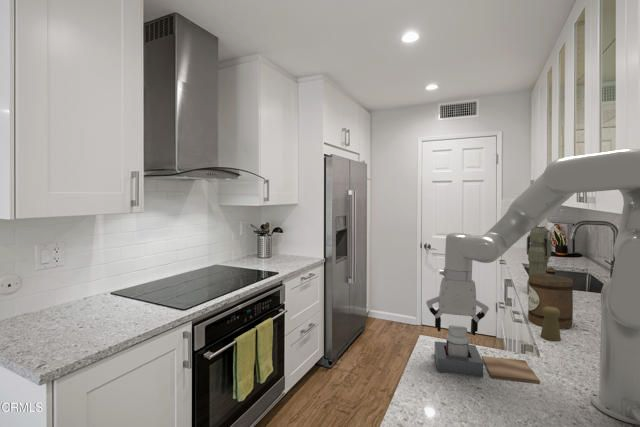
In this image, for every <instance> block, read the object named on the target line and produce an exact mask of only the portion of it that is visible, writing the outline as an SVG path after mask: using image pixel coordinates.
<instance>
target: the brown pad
mask: <svg viewBox="0 0 640 427" xmlns="http://www.w3.org/2000/svg"><path fill="white" fill-rule="evenodd" d="M481 359H482V361H483V365H484V366H485V369H486V370H487V372H488V374H489V377H490V378H491V379H495V378H496V379H497V380H504V379H505V381H506V380H507V381H512V380H513V382H521V381H522V382H523V383H530V382H532V383H531V384H539V383H540V384H541V380H540V379H539V377H538V376H537V375H536V373H535V372H534V371H533V369H532V367H531V366H530V365H529V364H528V363H527V361H526V360H524V359H516V358H514V359H513V358H506V357H505V358H504V357H497V356H495V357H493V356H486V355H481Z"/></svg>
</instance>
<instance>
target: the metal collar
mask: <svg viewBox="0 0 640 427" xmlns="http://www.w3.org/2000/svg"><path fill="white" fill-rule="evenodd" d="M446 346H447V341H446V342H445V341H434V358H435V365H436V369H437V373H443V374H454V375H461V376H462V375H463V376H469V377H470V376H471V377H477V378H478V377H479V378H484V362H483V360H482V356H481V355H480V352H479V351H478V348H477V346H476V345H475V344H469V350H468V358H467V357H457V356H447V355H446Z"/></svg>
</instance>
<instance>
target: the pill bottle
mask: <svg viewBox="0 0 640 427" xmlns="http://www.w3.org/2000/svg"><path fill="white" fill-rule="evenodd" d="M469 342H470V339H469V338H468V327H466V326H464V325H461V324H450V325H448V334H446V343H447V346H446V355H447V356H457V357H467V358H468V350H469V345H470V343H469Z"/></svg>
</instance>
